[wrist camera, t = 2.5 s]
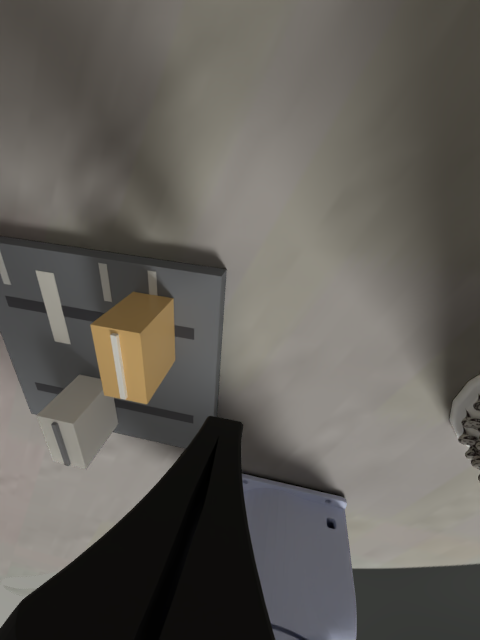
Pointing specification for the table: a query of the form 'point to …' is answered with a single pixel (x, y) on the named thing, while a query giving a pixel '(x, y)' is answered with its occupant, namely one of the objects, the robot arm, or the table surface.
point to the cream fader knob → (78, 422)
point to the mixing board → (91, 303)
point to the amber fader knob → (135, 346)
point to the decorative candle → (468, 419)
